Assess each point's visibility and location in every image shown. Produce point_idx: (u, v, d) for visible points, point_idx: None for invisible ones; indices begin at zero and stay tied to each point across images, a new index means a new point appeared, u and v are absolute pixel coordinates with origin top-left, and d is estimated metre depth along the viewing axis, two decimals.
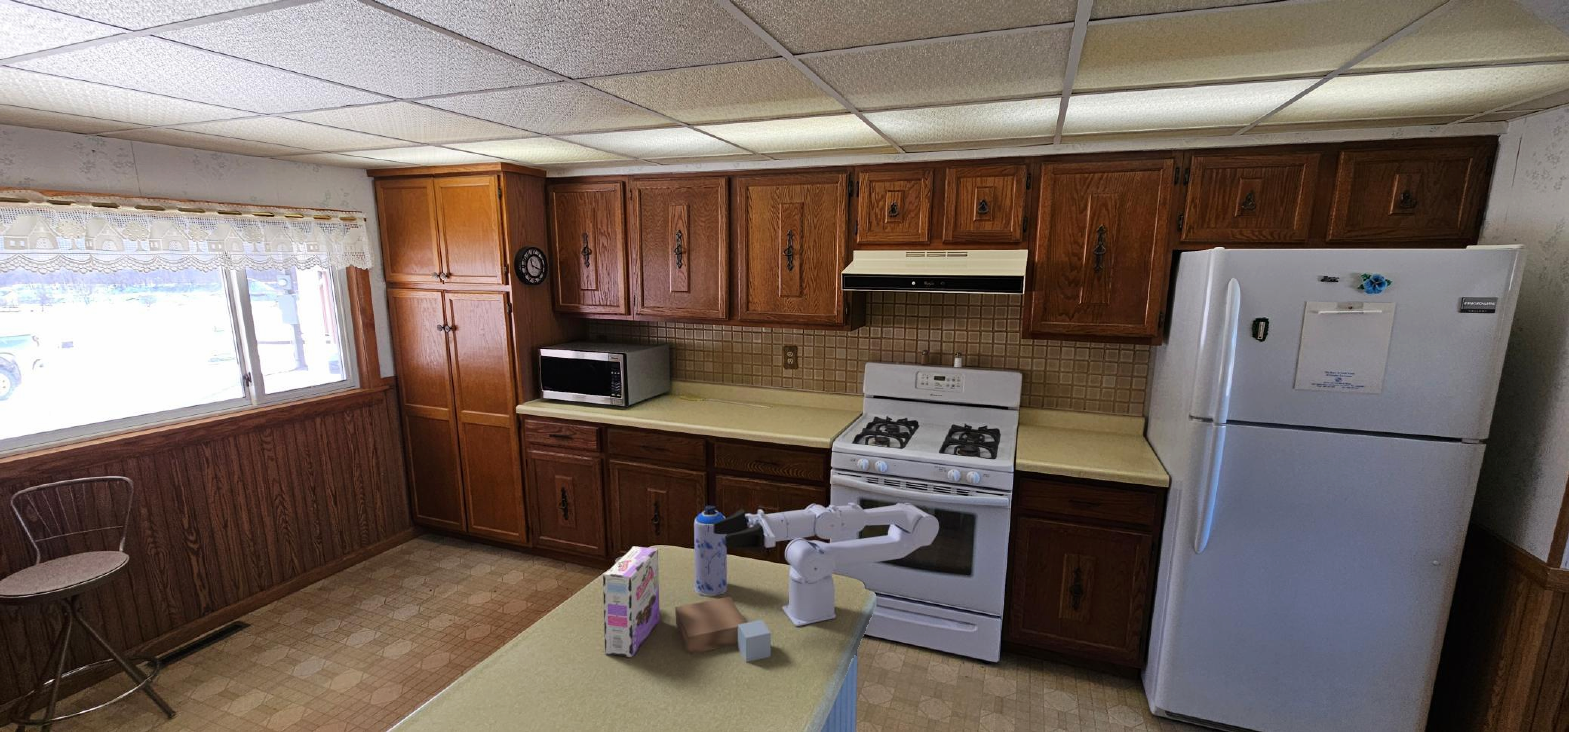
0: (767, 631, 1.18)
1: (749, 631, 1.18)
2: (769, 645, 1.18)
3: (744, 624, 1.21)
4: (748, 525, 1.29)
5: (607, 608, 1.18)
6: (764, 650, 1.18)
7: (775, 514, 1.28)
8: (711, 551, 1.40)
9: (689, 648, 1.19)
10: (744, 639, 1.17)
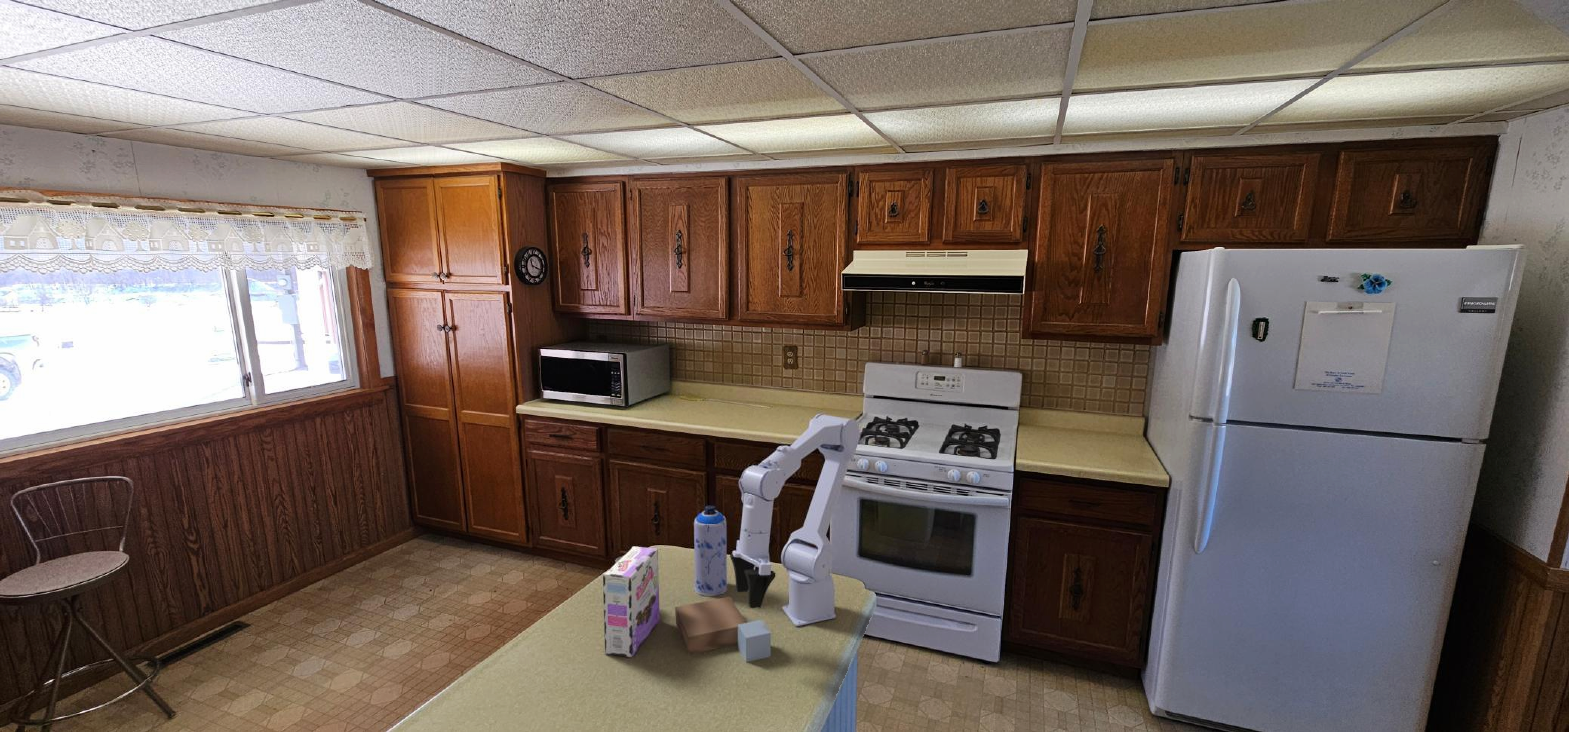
0: (767, 631, 1.18)
1: (749, 631, 1.18)
2: (769, 645, 1.18)
3: (744, 624, 1.21)
4: None
5: (607, 608, 1.18)
6: (764, 650, 1.18)
7: (741, 537, 1.17)
8: (711, 551, 1.40)
9: (689, 648, 1.19)
10: (744, 639, 1.17)
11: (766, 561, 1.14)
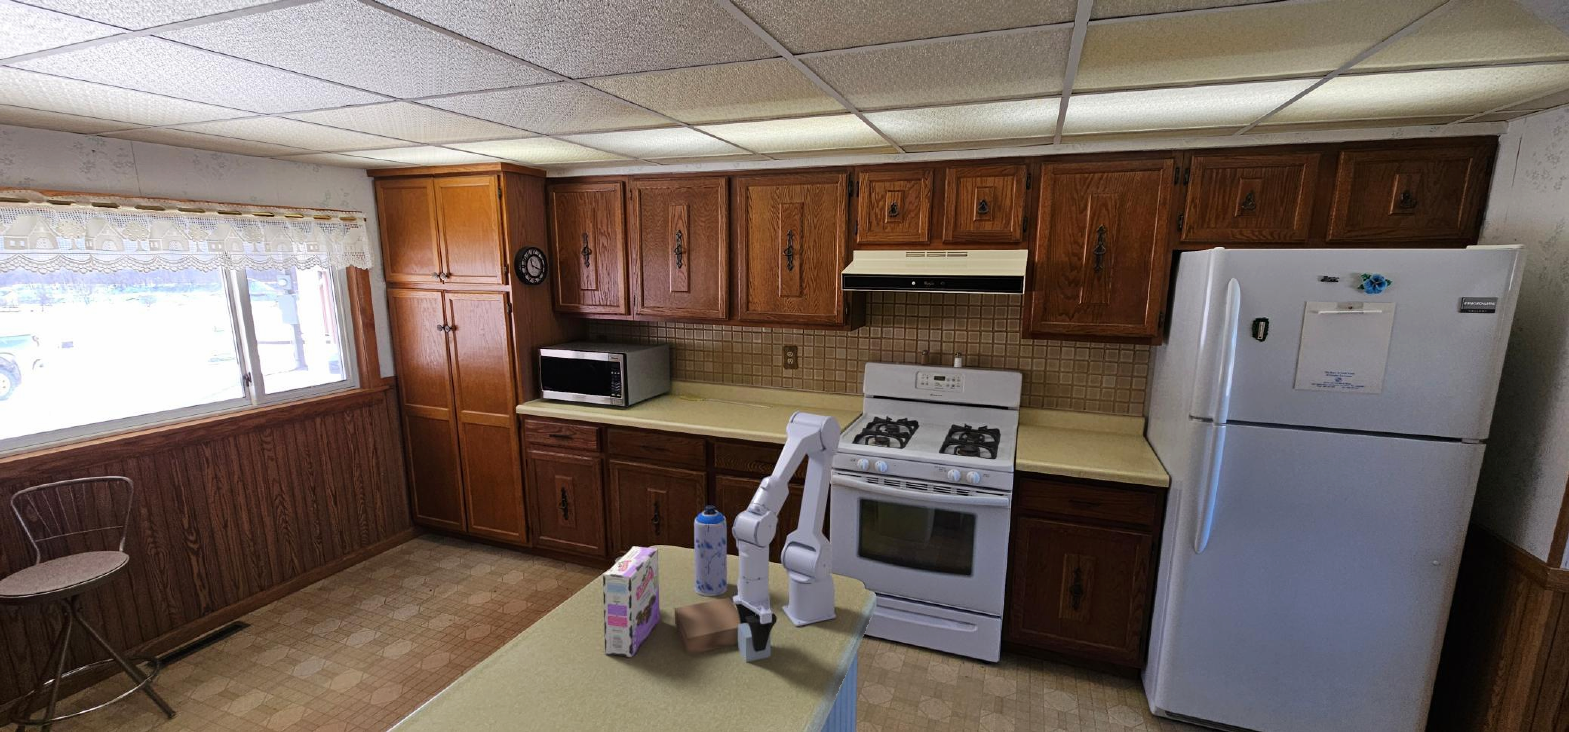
0: None
1: (749, 631, 1.18)
2: (769, 645, 1.18)
3: (744, 624, 1.21)
4: None
5: (607, 608, 1.17)
6: (764, 650, 1.18)
7: (740, 583, 1.17)
8: (711, 551, 1.40)
9: (688, 649, 1.19)
10: (744, 639, 1.17)
11: (767, 607, 1.14)
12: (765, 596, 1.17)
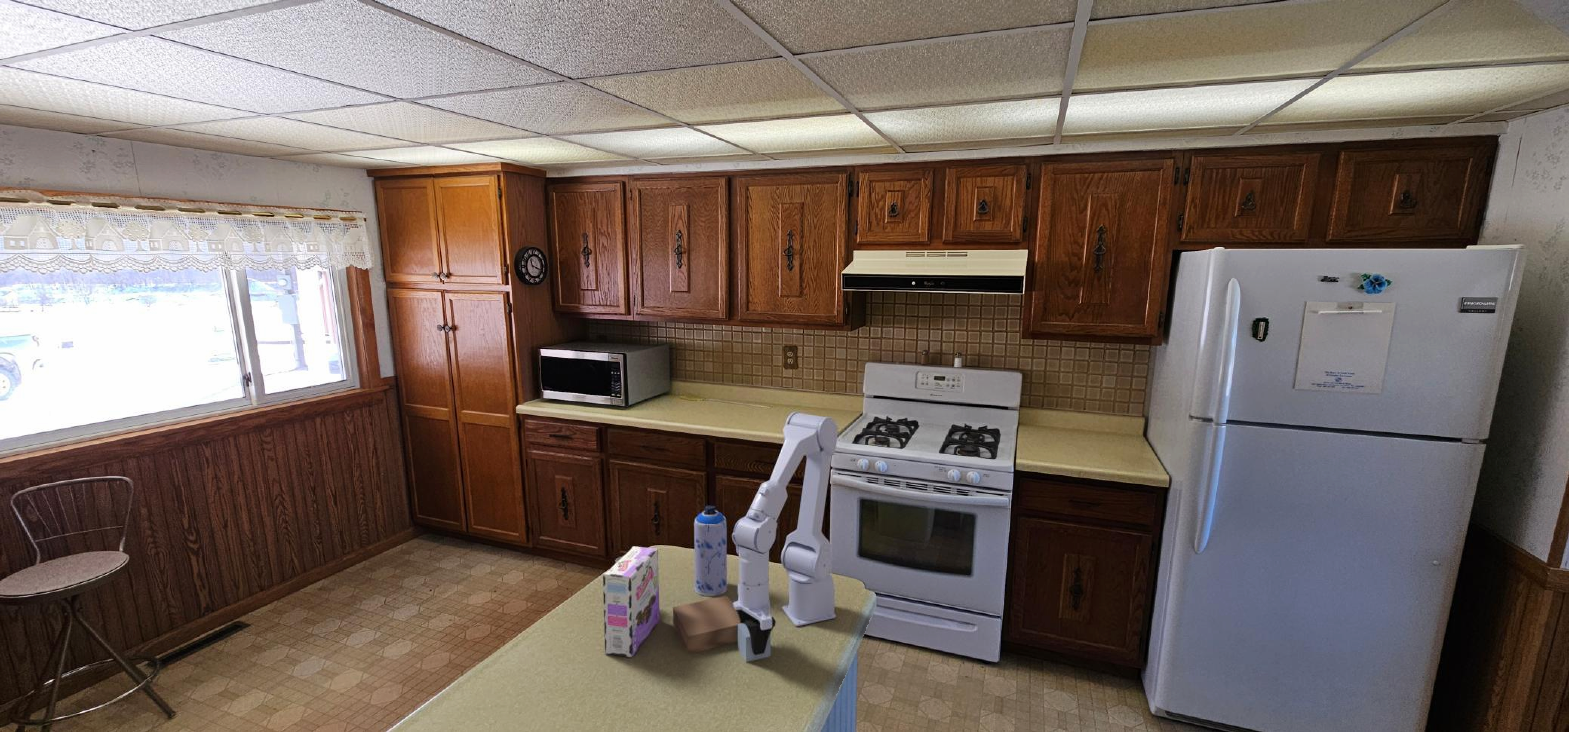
0: None
1: None
2: (769, 644, 1.18)
3: (744, 624, 1.21)
4: None
5: (607, 608, 1.18)
6: None
7: (740, 589, 1.17)
8: (711, 551, 1.40)
9: (689, 648, 1.19)
10: (744, 638, 1.17)
11: (767, 613, 1.15)
12: (765, 602, 1.17)
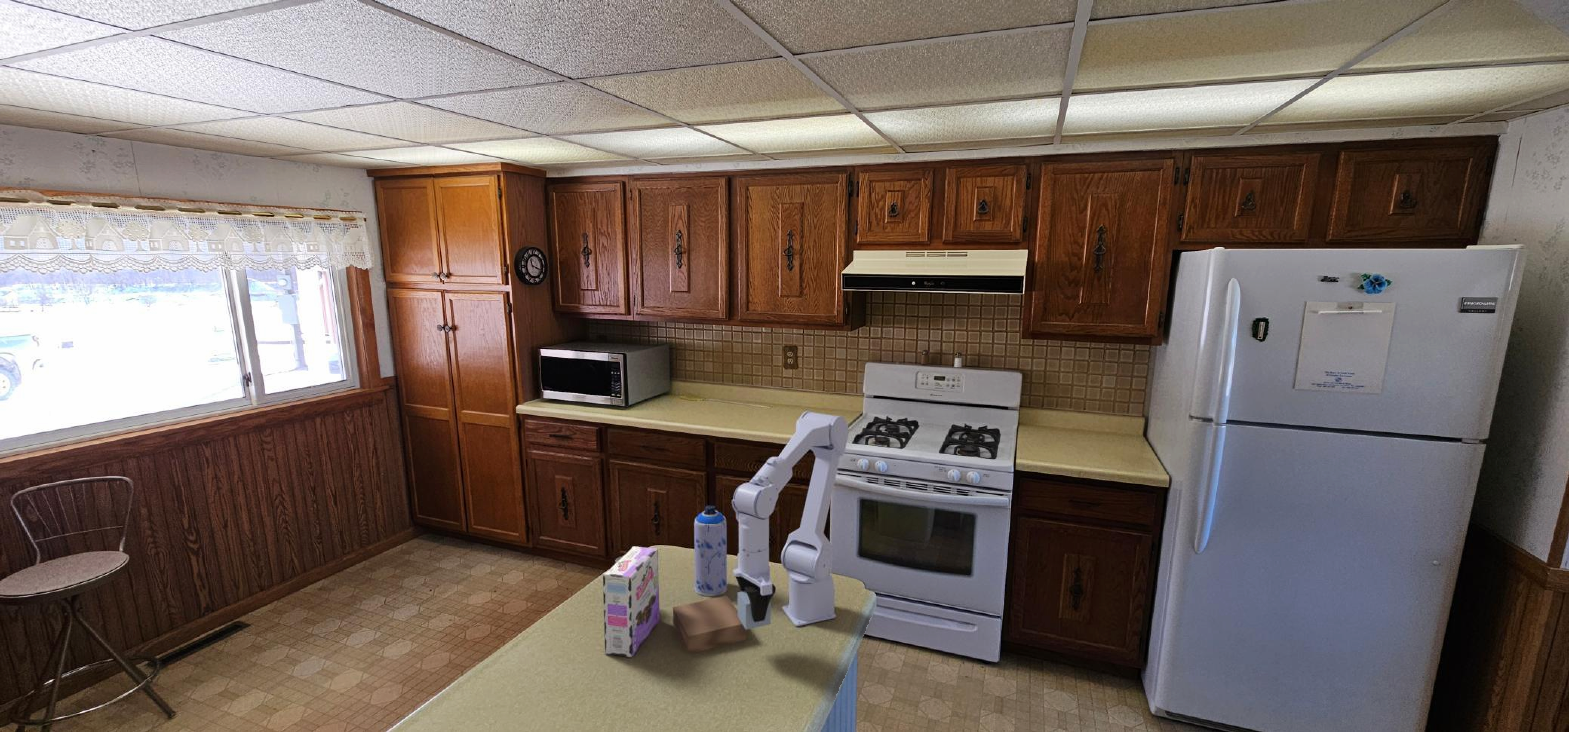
0: None
1: None
2: (769, 612, 1.17)
3: (744, 592, 1.20)
4: None
5: (607, 608, 1.18)
6: None
7: (740, 556, 1.16)
8: (711, 551, 1.40)
9: (689, 648, 1.19)
10: (744, 606, 1.16)
11: (767, 579, 1.14)
12: (765, 569, 1.16)
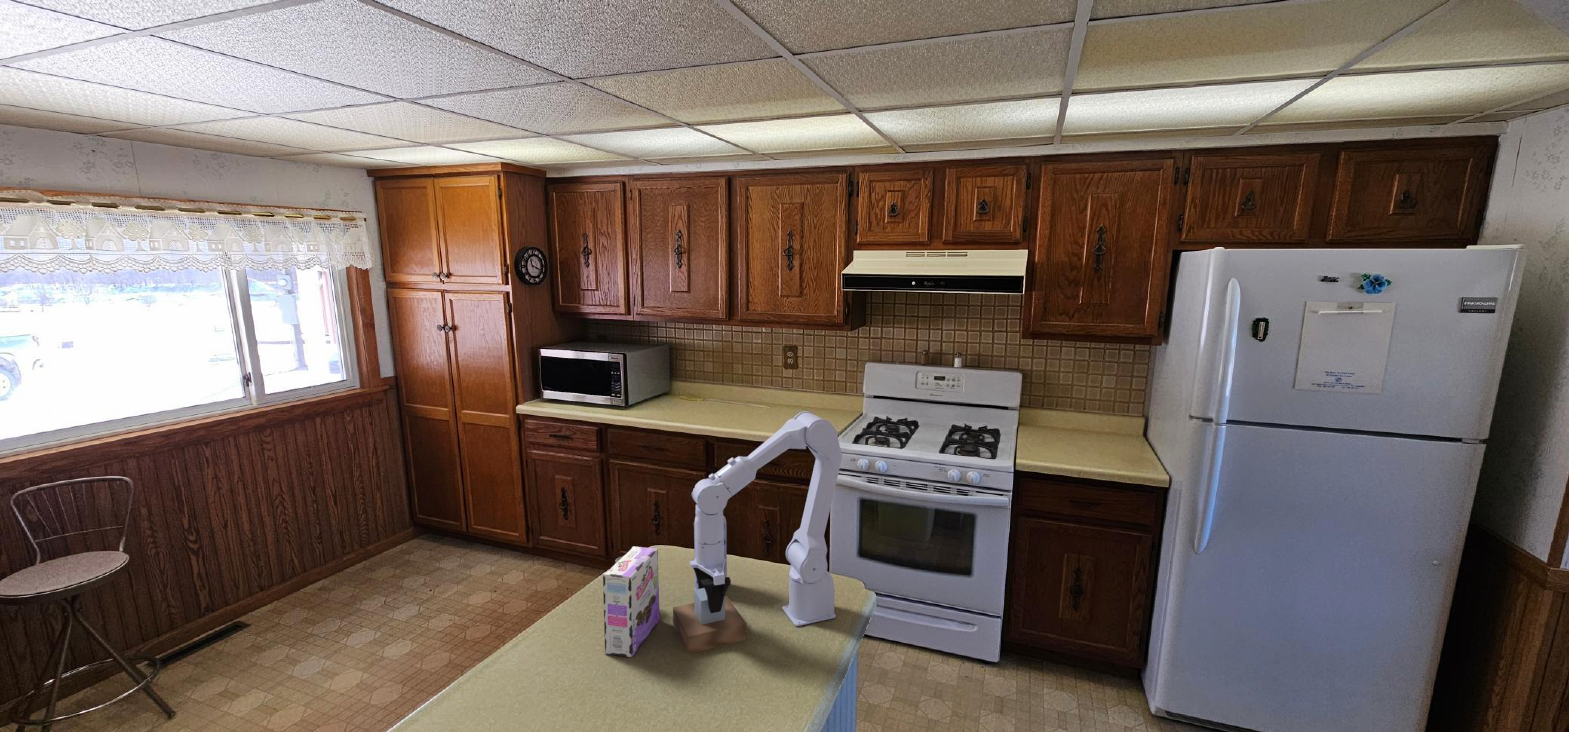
0: None
1: (705, 595, 1.25)
2: (723, 608, 1.25)
3: (700, 589, 1.27)
4: None
5: (607, 608, 1.18)
6: (719, 613, 1.24)
7: (696, 548, 1.23)
8: None
9: (689, 648, 1.19)
10: (699, 602, 1.23)
11: (720, 570, 1.21)
12: (720, 560, 1.23)
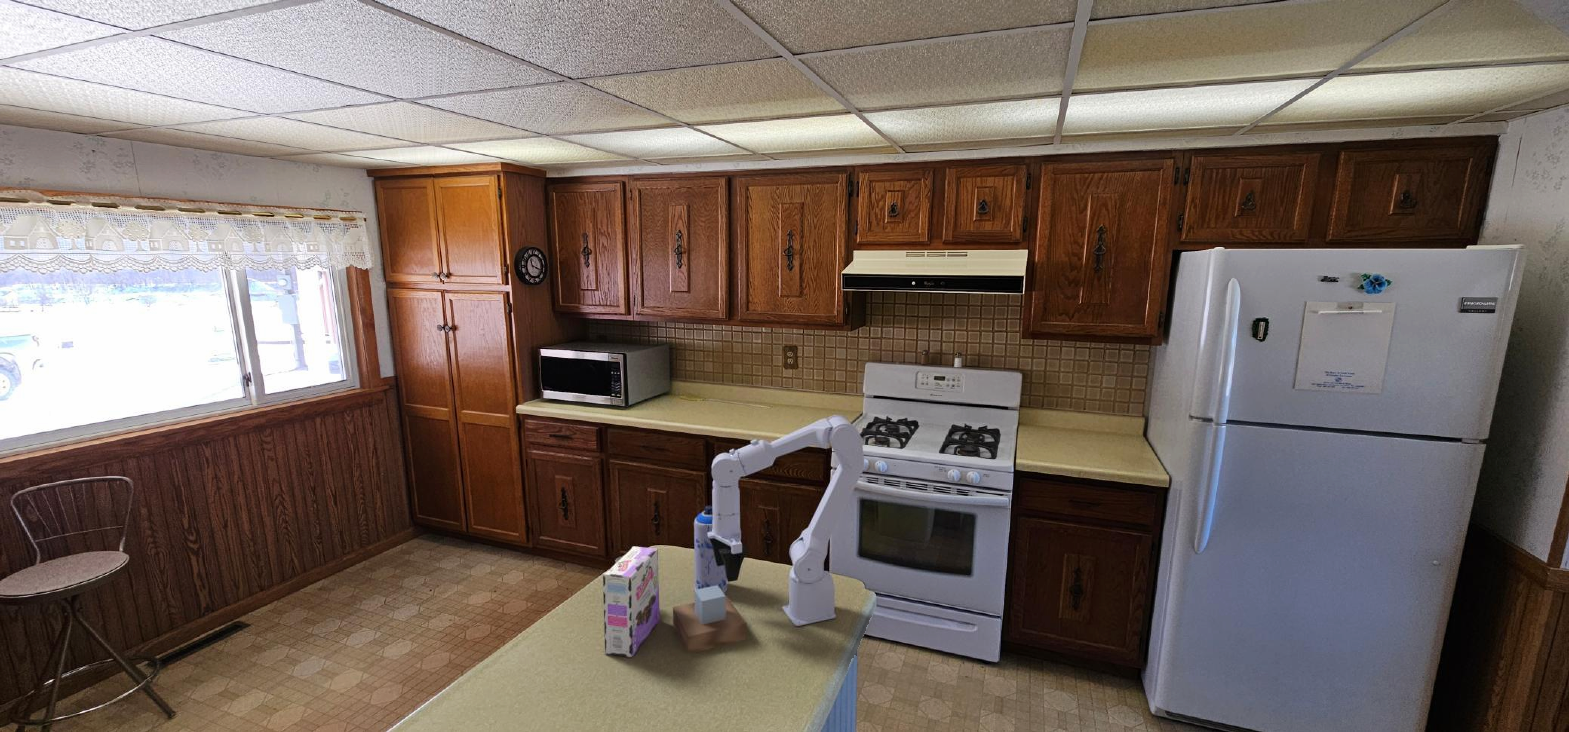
0: (722, 594, 1.25)
1: (705, 595, 1.25)
2: (724, 608, 1.25)
3: (700, 589, 1.27)
4: None
5: (607, 608, 1.18)
6: (720, 613, 1.24)
7: (713, 520, 1.28)
8: (711, 551, 1.40)
9: (689, 648, 1.19)
10: (700, 602, 1.23)
11: (738, 540, 1.26)
12: (736, 531, 1.28)
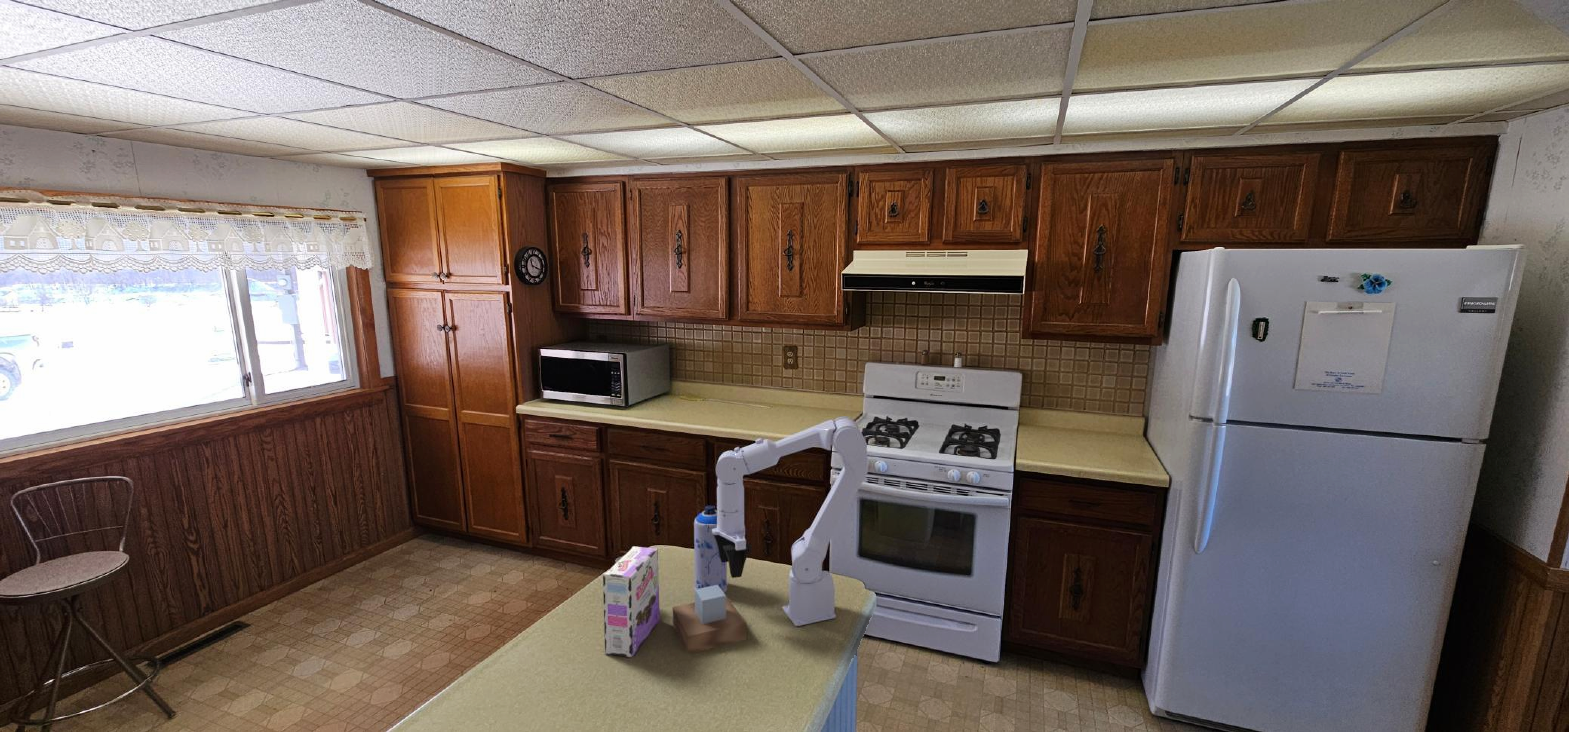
0: (722, 594, 1.25)
1: (706, 594, 1.25)
2: (724, 607, 1.25)
3: (701, 589, 1.27)
4: None
5: (607, 608, 1.18)
6: (720, 612, 1.25)
7: (718, 516, 1.30)
8: (711, 551, 1.40)
9: (688, 647, 1.19)
10: (700, 602, 1.23)
11: (742, 536, 1.27)
12: (741, 528, 1.29)
